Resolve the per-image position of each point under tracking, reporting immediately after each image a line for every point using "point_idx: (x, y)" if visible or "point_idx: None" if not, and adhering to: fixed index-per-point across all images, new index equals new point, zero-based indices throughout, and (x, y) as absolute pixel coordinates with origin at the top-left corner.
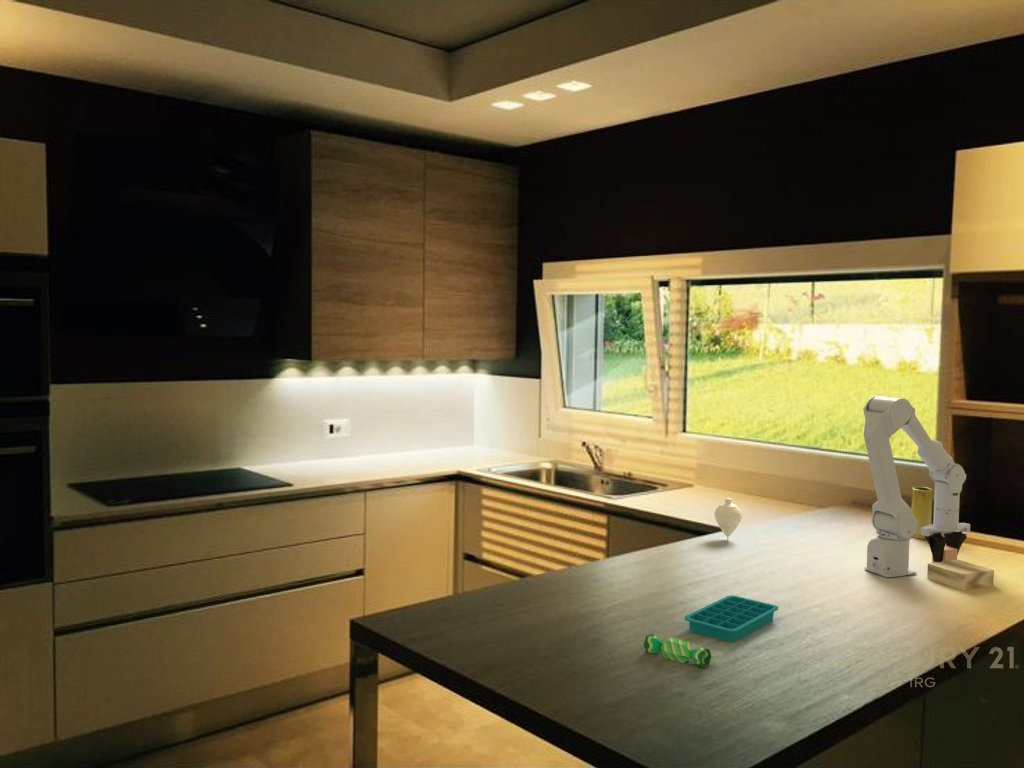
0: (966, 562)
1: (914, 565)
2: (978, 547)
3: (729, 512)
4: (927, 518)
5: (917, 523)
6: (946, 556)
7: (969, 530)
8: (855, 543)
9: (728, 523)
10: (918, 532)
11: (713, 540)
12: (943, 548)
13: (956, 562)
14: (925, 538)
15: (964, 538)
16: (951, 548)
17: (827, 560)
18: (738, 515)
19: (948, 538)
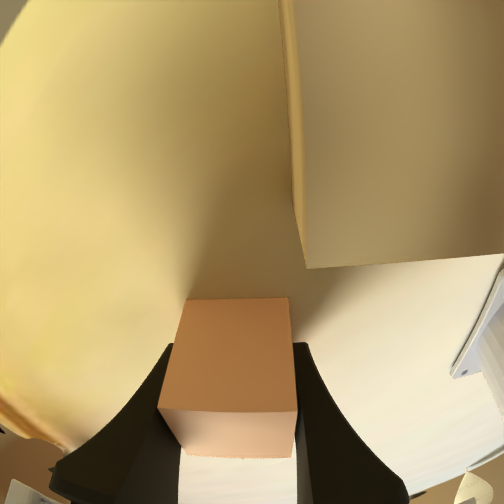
0: (321, 141)
1: (364, 373)
2: (4, 393)
3: (491, 498)
4: None
5: None
6: (280, 367)
7: (13, 487)
8: None
9: (487, 484)
10: None
11: (480, 462)
12: (312, 427)
13: (425, 187)
14: None
15: (76, 467)
16: (199, 423)
17: (498, 409)
18: (480, 498)
19: (168, 491)
